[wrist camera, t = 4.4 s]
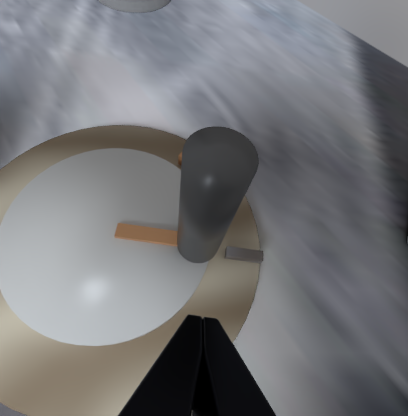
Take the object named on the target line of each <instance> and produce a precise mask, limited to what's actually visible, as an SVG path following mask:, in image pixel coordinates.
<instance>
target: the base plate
mask: <svg viewBox="0 0 408 416" xmlns="http://www.w3.org/2000/svg"><path fill="white" fill-rule="evenodd" d="M185 142H186V140H185V139H183V138H180V137H178V136H176V135H173V134H170V133H167V132H164V131H160V130H156V129H151V128H147V127H138V126H125V125H112V126H98V127H93V128H87V129H81V130H77V131H74V132H70V133H66V134H63V135H61V136H58V137H55V138H52V139H50V140H47V141H45V142H43V143H41V144H39V145H37V146H35V147H33V148H31V149H30V150H28V151H26V152H25V153H23V154H21V155H20V156H18V157H16V158H15V159H14V160H12V161H11V162H10V163H8V164H7V165H6V166H5V167H3V168H2V169H1V170H0V225H1V222H2V220H3V218H4V215H5V213H6V212H7V210H8V208H9V207H10V205H11V203H12V202H13V201H14V199H15V198H16V197H17V195H18V194H19V193H20V192H21V190H22V189H23V188H24V187H25V186H26V185H27V184H28V183H29V182H30V181H32V180H33V179H34V178H35V177H36V176H37V175H39V174H40V173H41V172H43V171H44V170H46V169H47V168H49V167H50V166H52V165H54V164H56V163H58V162H60V161H62V160H64V159H66V158H69V157H71V156H74V155H77V154H80V153H83V152H87V151H92V150H97V149H107V148H124V149H134V150H138V151H143V152H147V153H150V154H153V155H156V156H158V157H160V158H162V159H165V160H167V161H168V162H170V163H172V164H173V165H175V166H176V167H178V168H179V169H180V170H181V164H182V150H183V146H184V144H185ZM262 261H263V251H260V245H259V238H258V232H257V226H256V223H255V219H254V216H253V213H252V210H251V208H250V205H249V203H248V201H247V199H246V197H245V196H244V198H243V200H242V202H241V204H240V206H239V208H238V210H237V212H236V214H235V216H234V218H233V220H232V222H231V224H230V226H229V228H228V231H227V233H226V235H225V237H224V239H223V241H222V243H221V245H220V247H219V249H218V251H217V253H216V255H215V256H214V257H213V258H212V259H211V260H209V261H208V264H207V268H206V271H205V273H204V275H203V277H202V279H201V281H200V283H199V286H198V287H197V289H196V291H195V292H194V294H193V295H192V297H191V298H190V299H189V301H188V302H187V303H186V304H185V305H184V307H183V308H182V309H181V310H180V311H179V312H178V313H177V314H176V315H175V316H173V317H172V318H171V319H170V320H169V321H167V322H166V323H164V324H163V325H162V326H160V327H159V328H157V329H155V330H153V331H152V332H150V333H148V334H146V335H144V336H141V337H139V338H136V339H133V340H131V341H127V342H123V343H119V344H114V345H104V346H84V345H74V344H68V343H63V342H59V341H57V340H54V339H51V338H48V337H46V336H44V335H42V334H40V333H38V332H37V331H35V330H33V329H31V328H30V327H29V326H28V325H26V324H25V323H24V322H23V321H21V320H20V319H19V318H18V316H17V315H16V314H15V313H14V312H13V311H12V310H11V309H10V307H9V305H8V304H7V302H6V301H5V299H4V297H3V295H2V293H1V290H0V402H1V403H2V404H4V405H6V406H7V407H9V408H10V409H13V410H15V411H18V412H20V413H23V414H25V415H28V416H118V414H119V413H120V412H121V410H122V409H123V407H124V406H125V404H126V403H127V401H128V400H129V399H130V397H131V396H132V394H133V393H134V391H135V390H136V388H137V387H138V385H139V384H140V383H141V381H142V380H143V378H144V377H145V375H146V374H147V372H148V371H149V369H150V368H151V367H152V365H153V364H154V362H155V361H156V359H157V358H158V356H159V355H160V353H161V352H162V351H163V349H164V348H165V346H166V345H167V343H168V342H169V340H170V339H171V337H172V336H173V335H174V333H175V332H176V330H177V329H178V327H179V326H180V324H181V323H182V322H183V320H184V319H185V317H186V316H187V315H188V314H191V315H198V316H201V317H202V318H203V317H211V318H217V319H218V320H219V322H220V323H221V325H222V327H223V328H224V330H225V332H226V333H227V335H228V337H229V338H230V340H231V342H232V343H233V342H234V340H235V339H236V337H237V335H238V333H239V331H240V330H241V328H242V326H243V324H244V322H245V320H246V318H247V316H248V313H249V310H250V308H251V305H252V302H253V300H254V296H255V292H256V287H257V283H258V277H259V267H260V263H261V262H262Z"/></svg>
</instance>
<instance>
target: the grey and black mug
mask: <svg viewBox="0 0 408 416" xmlns="http://www.w3.org/2000/svg"><path fill="white" fill-rule="evenodd" d="M98 1H99V2H100V3H102V4H103V5H105V6H107V7H109V8H112V9H115V10H118V11H122V12H129V13H145V12H151V11H155V10H158V9H160V8H162V7H164V6H166V5H167V4H168V3H169V2H170V1H171V0H98Z"/></svg>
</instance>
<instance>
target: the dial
mask: <svg viewBox="0 0 408 416" xmlns="http://www.w3.org/2000/svg"><path fill="white" fill-rule="evenodd" d="M257 168H258V154H257V151H256V149H255V147H254V146H253V144H252V143H251V142H250V141H249V139H247V138H246V137H245V136H244V135H242V134H241V133H239V132H237V131H235V130H232V129H229V128H225V127H207V128H203V129H201V130H198V131H196V132H195V133H193V134H192V135H191V136H190V137H189V138H188V139H187V140H186V142H185V144H184V146H183V150H182V164H181V170H180V169H179V168H178V167H176V166H175V165H173V164H172V163H170V162H168V161H167V160H165V159H162V158H160V157H158V156H156V155H153V154H150V153H147V152H143V151H138V150H134V149H124V148H107V149H97V150H92V151H87V152H83V153H80V154H77V155H74V156H71V157H69V158H66V159H64V160H62V161H60V162H58V163H56V164H54V165H52V166H50V167H49V168H47V169H46V170H44V171H43V172H41V173H40V174H39V175H37V176H36V177H35V178H34V179H33V180H32V181H30V182H29V183H28V184H27V185H26V186H25V187H24V188H23V189H22V190H21V192H20V193H19V194H18V195H17V197H16V198H15V199H14V201H13V202H12V203H11V205H10V207H9V208H8V210H7V212H6V213H5V215H4V218H3V220H2V222H1V225H0V290H1V293H2V295H3V297H4V299H5V301H6V302H7V304H8V305H9V307H10V309H11V310H12V311H13V312H14V313H15V314H16V315H17V316H18V318H19V319H20V320H21V321H23V322H24V323H25V324H26V325H28V326H29V327H30V328H31V329H33V330H35V331H37V332H38V333H40V334H42V335H44V336H46V337H48V338H51V339H54V340H57V341H59V342H63V343H68V344H74V345H84V346H104V345H114V344H119V343H123V342H127V341H131V340H133V339H136V338H139V337H141V336H144V335H146V334H148V333H150V332H152V331H153V330H155V329H157V328H159V327H160V326H162V325H163V324H164V323H166V322H167V321H169V320H170V319H171V318H172V317H173V316H175V315H176V314H177V313H178V312H179V311H180V310H181V309H182V308H183V307H184V305H185V304H186V303H187V302H188V301H189V299H190V298H191V297H192V295H193V294H194V292H195V291H196V289H197V287H198V286H199V283H200V281H201V279H202V277H203V275H204V273H205V271H206V268H207V264H208V261H209V260H211V259H212V258H213V257H214V256H215V255H216V253H217V251H218V249H219V247H220V245H221V243H222V241H223V239H224V237H225V235H226V233H227V231H228V228H229V226H230V224H231V222H232V220H233V218H234V216H235V214H236V212H237V210H238V208H239V206H240V204H241V202H242V200H243V198H244V196H245V194H246V192H247V190H248V187H249V185H250V183H251V181H252V179H253V177H254V175H255V173H256V171H257Z"/></svg>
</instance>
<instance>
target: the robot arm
mask: <svg viewBox="0 0 408 416" xmlns="http://www.w3.org/2000/svg"><path fill="white" fill-rule="evenodd" d="M118 416H276V415H275V413H274V411H273V410H272V408H271V406H270V405H269V403H268V401H267V400H266V398H265V396H264V395H263V393H262V391H261V390H260V388H259V386H258V385H257V383H256V381H255V380H254V378H253V376H252V375H251V373H250V371H249V370H248V368H247V366H246V365H245V363H244V361H243V360H242V358H241V356H240V355H239V353H238V351H237V350H236V348H235V347H234V345H233V343H232V342H231V340H230V338H229V337H228V335H227V333H226V332H225V330H224V328H223V327H222V325H221V323H220V322H219V320H218V319H217V318H211V317H203V318H202V317H201V316H198V315H191V314H188V315H187V316H186V317H185V319H184V320H183V322H182V323H181V324H180V326H179V327H178V329H177V330H176V332H175V333H174V335H173V336H172V337H171V339H170V340H169V342H168V343H167V345H166V346H165V348H164V349H163V351H162V352H161V353H160V355H159V356H158V358H157V359H156V361H155V362H154V364H153V365H152V367H151V368H150V369H149V371H148V372H147V374H146V375H145V377H144V378H143V380H142V381H141V383H140V384H139V385H138V387H137V388H136V390H135V391H134V393H133V394H132V396H131V397H130V399H129V400H128V401H127V403H126V404H125V406H124V407H123V409H122V410H121V412H120V413H119V414H118Z"/></svg>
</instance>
